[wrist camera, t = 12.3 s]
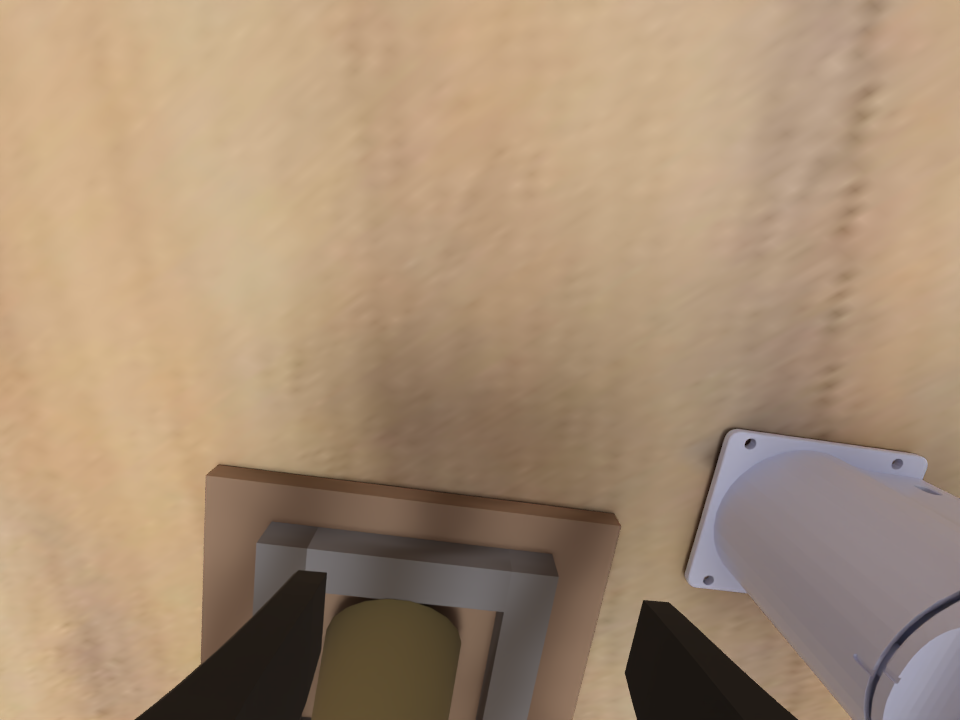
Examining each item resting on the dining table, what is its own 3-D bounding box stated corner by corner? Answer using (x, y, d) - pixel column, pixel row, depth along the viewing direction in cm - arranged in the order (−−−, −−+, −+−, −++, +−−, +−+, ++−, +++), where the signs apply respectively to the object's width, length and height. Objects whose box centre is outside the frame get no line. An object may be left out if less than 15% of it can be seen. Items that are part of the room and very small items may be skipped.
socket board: (614, 513, 22) (633, 547, 19) (549, 775, 25) (558, 831, 23) (218, 464, 20) (184, 493, 18) (209, 747, 24) (180, 804, 21)
